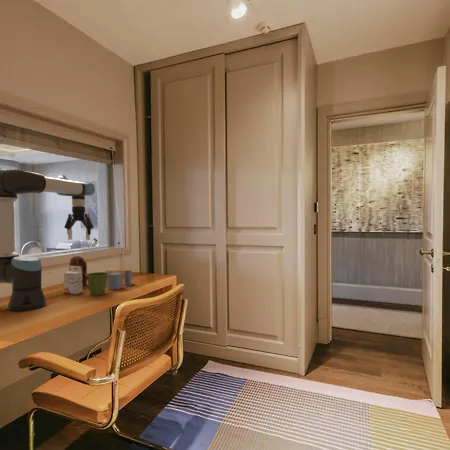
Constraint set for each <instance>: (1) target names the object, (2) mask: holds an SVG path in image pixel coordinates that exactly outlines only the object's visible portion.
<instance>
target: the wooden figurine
mask: <svg viewBox="0 0 450 450" xmlns="http://www.w3.org/2000/svg"><path fill="white" fill-rule="evenodd" d="M70 266H81V267H82V287H83V286H86V285H88V280H87V277H86V276H85V275H86V274H88V272H87V271H88V269H87V268H88V267H87V262H86V261H85V259H84V258H83V257H82V256H80V255H79V256H78V255H75V256H72V257H71V258H70V260H69V268H68V269H69V270H68V271H70ZM74 269H78V268H74Z"/></svg>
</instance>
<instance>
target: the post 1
mask: <svg viewBox="0 0 450 450" xmlns="http://www.w3.org/2000/svg"><path fill="white" fill-rule="evenodd" d="M105 272H107V273H109V274H112V273H113V270H105ZM105 287H108V275H107V279H106V286H105Z"/></svg>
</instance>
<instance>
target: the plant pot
mask: <svg viewBox="0 0 450 450" xmlns="http://www.w3.org/2000/svg"><path fill="white" fill-rule="evenodd" d="M108 274H109V273H107V272H104V271H103V272H98V271H97V272H90V273H89V272H88V273H87V274H86V275H85V276H86V277H87V285H88V289H89V294H90V295H91V296H92V297H93V296H95V297H96V296H99V295H100V296H102V295H104V294H105V293H106V287H107V286H106V279H107V275H108Z"/></svg>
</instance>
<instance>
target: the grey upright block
mask: <svg viewBox="0 0 450 450" xmlns="http://www.w3.org/2000/svg"><path fill="white" fill-rule="evenodd" d="M123 277H124V275H123V272H112V274H108V286H107V287H108V289H107V290H115V289H117V290H119V289H122V287H124V286H123V284H124V283H123V280H124V278H123Z"/></svg>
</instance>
